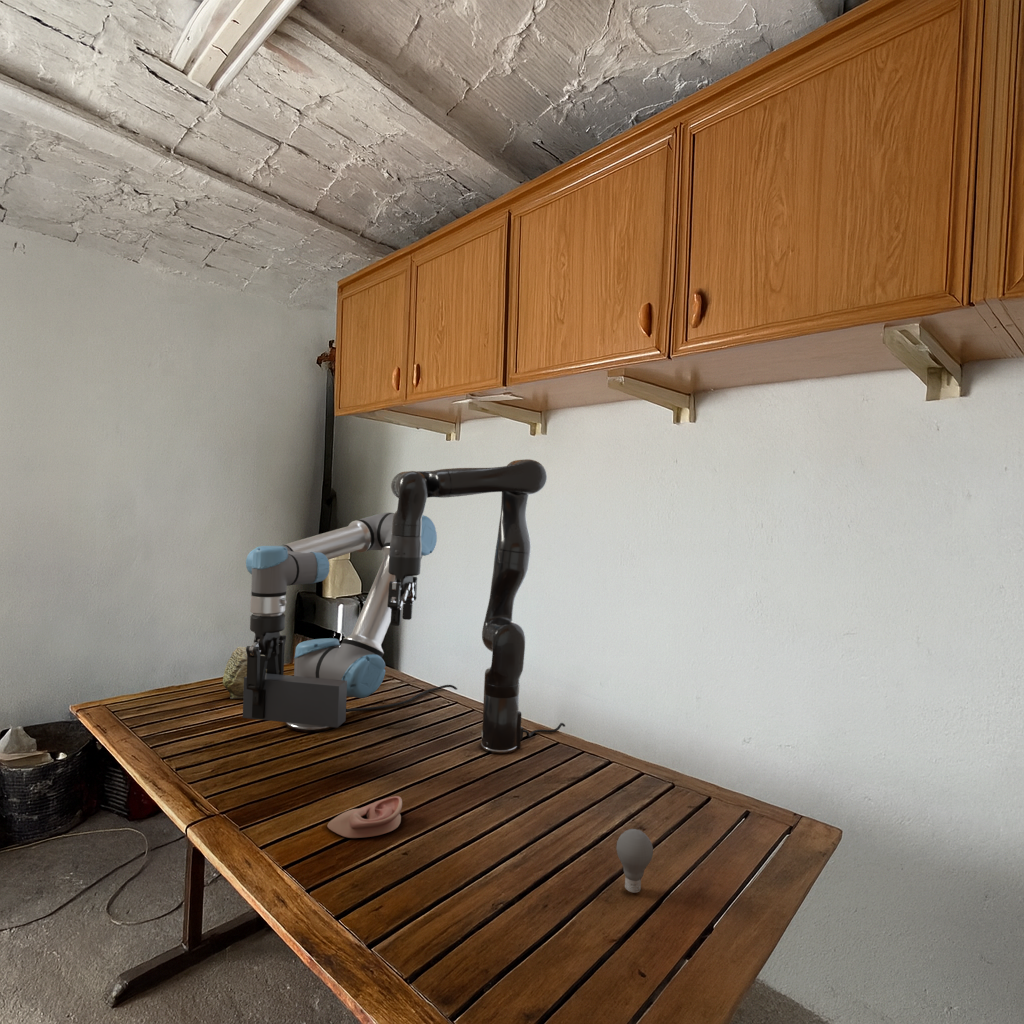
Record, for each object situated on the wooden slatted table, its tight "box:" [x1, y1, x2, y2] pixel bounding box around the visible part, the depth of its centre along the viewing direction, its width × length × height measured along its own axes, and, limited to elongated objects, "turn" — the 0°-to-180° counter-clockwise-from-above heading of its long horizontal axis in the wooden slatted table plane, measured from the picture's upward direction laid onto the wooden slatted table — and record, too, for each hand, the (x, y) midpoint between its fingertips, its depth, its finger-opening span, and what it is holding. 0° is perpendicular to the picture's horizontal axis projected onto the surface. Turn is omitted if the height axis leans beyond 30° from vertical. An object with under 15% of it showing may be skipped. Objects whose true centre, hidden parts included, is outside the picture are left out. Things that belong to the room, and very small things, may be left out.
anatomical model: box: [327, 795, 403, 839], centre depth 123 cm, size 13×4×12 cm
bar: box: [242, 673, 348, 728], centre depth 145 cm, size 23×4×9 cm, turn 81°
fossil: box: [222, 646, 267, 699], centre depth 198 cm, size 9×18×15 cm, turn 132°
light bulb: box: [615, 828, 654, 894], centre depth 106 cm, size 6×6×10 cm
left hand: (264, 713), depth 146 cm, fingers closed on bar, 4 cm apart
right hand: (401, 622), depth 151 cm, fingers open, 8 cm apart
